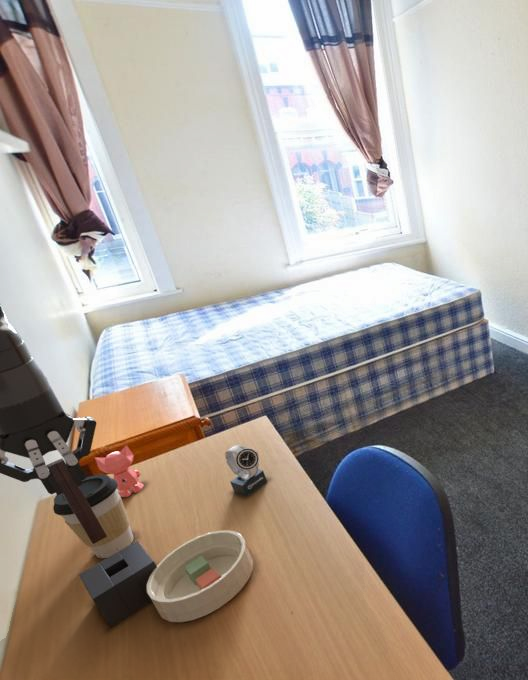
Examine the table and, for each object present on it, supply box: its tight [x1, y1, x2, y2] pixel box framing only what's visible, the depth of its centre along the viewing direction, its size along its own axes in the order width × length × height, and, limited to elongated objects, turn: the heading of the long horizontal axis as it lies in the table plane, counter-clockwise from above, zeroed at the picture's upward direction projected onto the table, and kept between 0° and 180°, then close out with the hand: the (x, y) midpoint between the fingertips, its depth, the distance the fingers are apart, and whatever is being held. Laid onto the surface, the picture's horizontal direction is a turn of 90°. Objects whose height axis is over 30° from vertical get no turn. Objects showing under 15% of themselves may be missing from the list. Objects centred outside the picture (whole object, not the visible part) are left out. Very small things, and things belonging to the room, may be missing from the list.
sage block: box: [184, 556, 211, 586], centre depth 86 cm, size 3×3×3 cm
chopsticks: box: [46, 458, 107, 544], centre depth 76 cm, size 2×1×16 cm, turn 143°
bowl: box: [147, 529, 254, 623], centre depth 84 cm, size 15×15×6 cm
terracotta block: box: [195, 568, 221, 590], centre depth 83 cm, size 3×3×3 cm
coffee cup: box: [52, 474, 134, 559], centre depth 94 cm, size 10×10×15 cm
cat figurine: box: [94, 444, 145, 498], centre depth 110 cm, size 7×7×12 cm
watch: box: [224, 444, 268, 497], centre depth 108 cm, size 6×8×11 cm
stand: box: [78, 540, 157, 628], centre depth 83 cm, size 9×9×7 cm
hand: (69, 487), depth 75 cm, fingers closed on chopsticks
